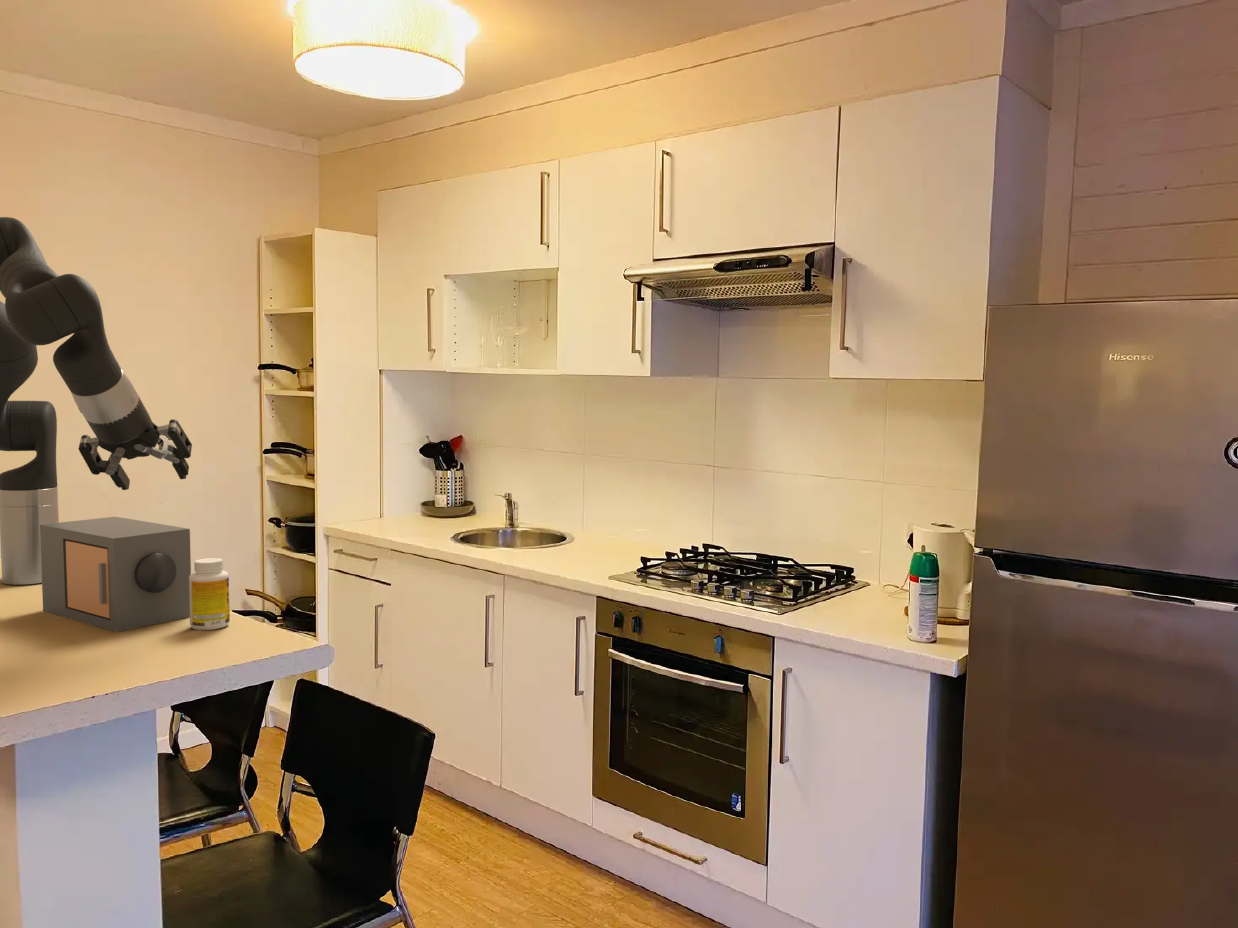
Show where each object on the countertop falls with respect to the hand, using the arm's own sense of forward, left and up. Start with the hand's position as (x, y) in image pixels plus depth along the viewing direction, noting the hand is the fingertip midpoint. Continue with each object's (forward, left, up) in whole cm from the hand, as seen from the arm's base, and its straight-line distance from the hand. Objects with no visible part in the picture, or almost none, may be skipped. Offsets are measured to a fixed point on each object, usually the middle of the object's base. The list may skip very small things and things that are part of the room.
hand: (155, 480), depth 143 cm
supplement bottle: (+10, +2, -22) cm, 24 cm away
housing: (-9, -2, -22) cm, 24 cm away
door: (-6, -8, -20) cm, 22 cm away
